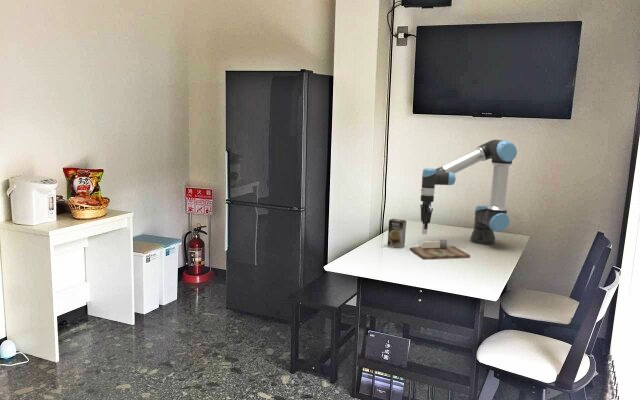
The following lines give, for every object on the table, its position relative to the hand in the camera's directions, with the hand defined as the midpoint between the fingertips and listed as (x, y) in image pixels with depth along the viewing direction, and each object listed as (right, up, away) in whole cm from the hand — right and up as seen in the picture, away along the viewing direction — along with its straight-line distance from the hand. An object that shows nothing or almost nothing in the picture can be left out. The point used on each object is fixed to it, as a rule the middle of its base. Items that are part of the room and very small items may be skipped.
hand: (424, 234), depth 319 cm
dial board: (+7, -11, -9) cm, 16 cm away
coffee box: (-16, -8, +5) cm, 19 cm away
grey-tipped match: (+5, -8, -4) cm, 10 cm away
